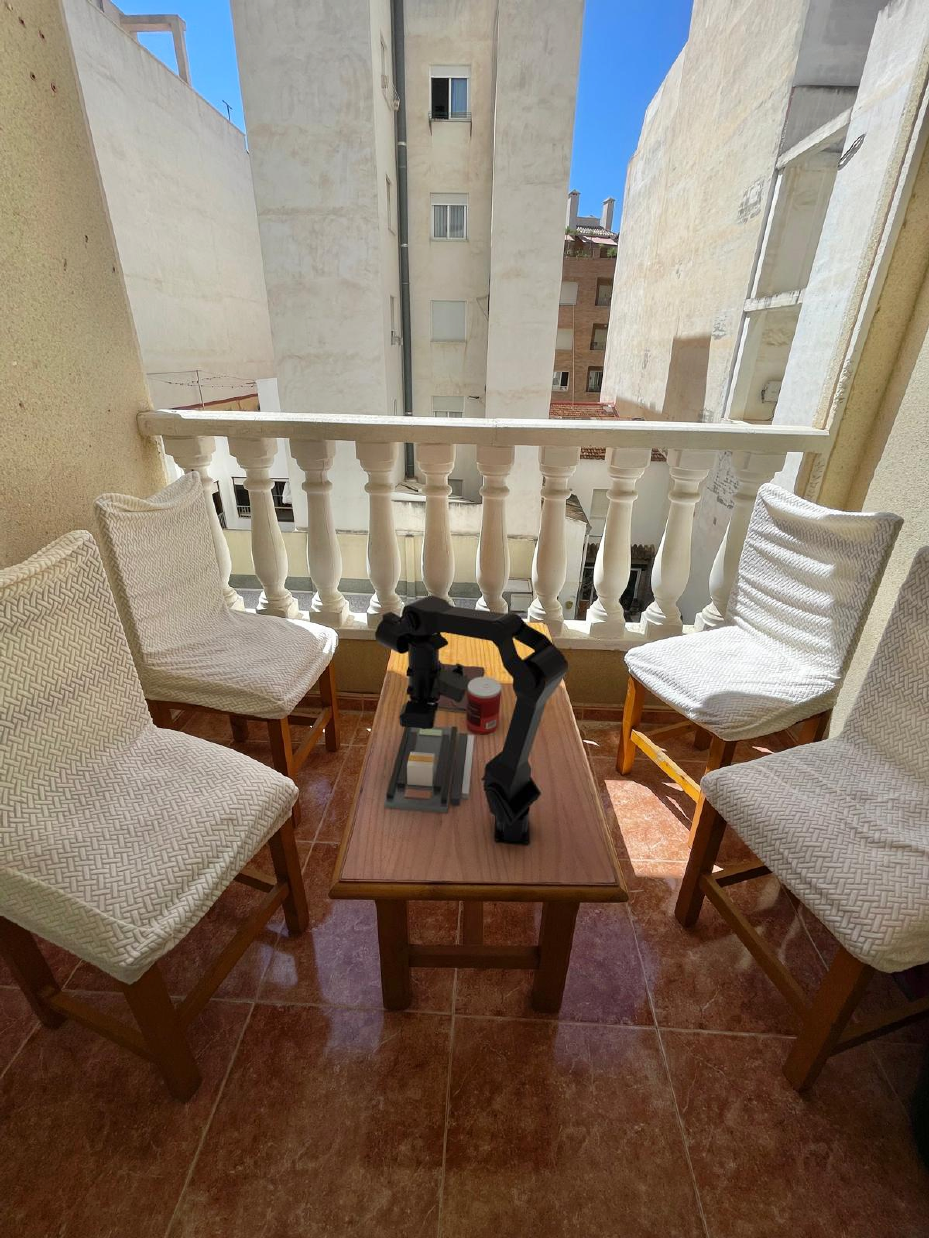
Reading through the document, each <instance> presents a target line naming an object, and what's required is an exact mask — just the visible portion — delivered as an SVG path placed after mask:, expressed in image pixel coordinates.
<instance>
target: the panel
mask: <svg viewBox="0 0 929 1238" xmlns="http://www.w3.org/2000/svg"><path fill="white" fill-rule="evenodd" d="M458 730H459V728H458V726H453V725H452V726H451V727H450V726H449V727H448V726H447V727H446V726H435V725H434V727H433V728H431V729H421V728H412V727H403V733H402V736H401V739H400V744H399V747H398V750H397V753H396V757H395V761H394V765H393V769H392V772H391V776H390V779H389V783H388V785H387V790H386V796H385V802H384V803H385V804H384V805H385V806H384V807H385V808H386V809H399V810H409V811H422V812H434V813H435V812H436V813H445V814H446V813H447V812H448V806H449V802H450V801H449V799H450V794H451V785H452V780H453V773H454V765H455V763H454V762H455V758H456V757H455V756H456V751H457V743H458V736H459V731H458ZM410 752H421V753H433V754H435V774H434V779H433V785H432V786H420V785H408V784H407V764H408V758H409V755H410Z"/></svg>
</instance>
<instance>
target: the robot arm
mask: <svg viewBox="0 0 929 1238" xmlns="http://www.w3.org/2000/svg"><path fill="white" fill-rule="evenodd" d="M441 633H445V634H450V635H451V634H452V635H456V636H463V637H467V638H473V639H479V640H484V641H490V642H492V643H493V645H494V646H496V648H497V649H498V652H499V656H500V659H501V663H502V665H503V666H502V667H503V668H504V669H505V670H506V671H507V673H508V674H509V675H510V677H512V679H513V680H512V689H513V691H514V693H515V694H514V695H515V696H516V701H515V705H514V709H513V712H512V716H511V718H510V723H509V727H508V729H507V733H506V736H505V740H504V742H503V743H504V744H503V747H502V751H500V752H498V754H496V756H494V757H493V758H491V759H490V761H488V762H487V763H486V764H485V767H484V775H483V777H482V778H481V779H480V780H481V781H483V787H482V788H483V791H484V793H485V796H486V797H485V798H486V801H487V805H488V808H489V812H490V814H491V815H493V816H494V827H493V828H494V833H493V842H494V843H496V844H507V845H508V844H509V845H519V846H521V845H522V846H529V845H530V842H531V839H530V838H531V837H530V817H529V816H530V811H531V806H532V804H533V803H535V802H536V801H538V799H539V798H540V797H541V795H542V793H541V791H540V790H539V787H538V786H537V784H536V782H535V781H534V779H533V778H532V776H531V775H532V766H531V764H530V762H529V757H530V755H531V751H532V748H533V745H534V741H535V739H536V735H537V732H538V729H539V727H540V723H541V720H542V717H543V714H544V711H545V709H546V704H547V702H548V700H549V699H550V697H551V696H552V695H553V694H554V692H555V691H556V689H557V688H558V687H559V686H560V684H561V683H562V681H563V679H564V678H565V676H566V675H567V672H568V669H569V662H568V661H567V659H566V658H565V655H563V653H562V652H561V651H560V650H559V649H558V648H557V647H556V645H555V644H554V643H553V642H552V641H551V640H550V639H549V637H548V636H547V635H546V634H544V633H542V632H540V631H539V630H537V629H536V628H533V627H531V626H530V625H528V624H527V623H526V622H525V621H524V620H523V619H522V617H521V616H520V615H519V614H517V613H514V612H507V613H503V612H497V611H496V612H495V611H490V610H482V609H475V608H474V609H473V608H466V607H459V606H458V607H457V606H454V605H451V604H450V603H449V601H447V600H446V599H443V598H441V597H438V596H435V595H427V596H425V597H423V598H421V599H418V600H415V601H413V602H411V603H408V604H406V605H405V606H403V608H402V611H401V616H399V615H397V614H396V613H394V612H392V611H388V612H386V613H385V614H383V615H382V620H381V621H380V623H379V624H378V626H377V628H376V631H375V632H374V638H375V640H376V642H377V643H378V644H380V645H382V646H383V647H386V648H388V649H390V650H392V651H395V652H396V653H398V654H406V653H407V661H408V662H407V663H408V667H406V672H405V673H406V677H408V686H407V689H406V695H409V698H410V699H409V700H407V701H406V702H405V703H404V704H402V706H401V710H400V713H399V716H398V719H399V721H398V722H399V726H401V727H402V728H405V727H412V728H421V729H431V728H433V727H434V726H435V723H436V722H435V721H436V716H437V715H436V713H437V711H438V710H437V708H438V704H439V703H435V702H437V701H438V700H439V699H440V695H442V696H444V697H447V698H450V699H452V700H454V701H455V702H461V701H462V699H463V697H464V695H465V693H466V691H467V689H468V682H469V679H468V678H467V676H468V675H464V666H465V665H463V664H461V663H455V664H453V665H454V666H453V667H451V669H450V668H448V670H445V666H444V665H442V664H443V662H441V660H440V654H439V653H440V650H441V649H442V648H445V647H447V645H449V641H448V640H447V639H446V637H444V636H443V635H442V634H441ZM514 639H515V641H517V642H519V643H521V644H523V645H525V646H527V647H529V648H530V649H532V650H533V651H534V652H531V653H530V654H528V655H527V656H526V657H524V658H523V659H522V658H521V656H520V655H519V653H518V651H517V648H516V644H515V642H514Z"/></svg>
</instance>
